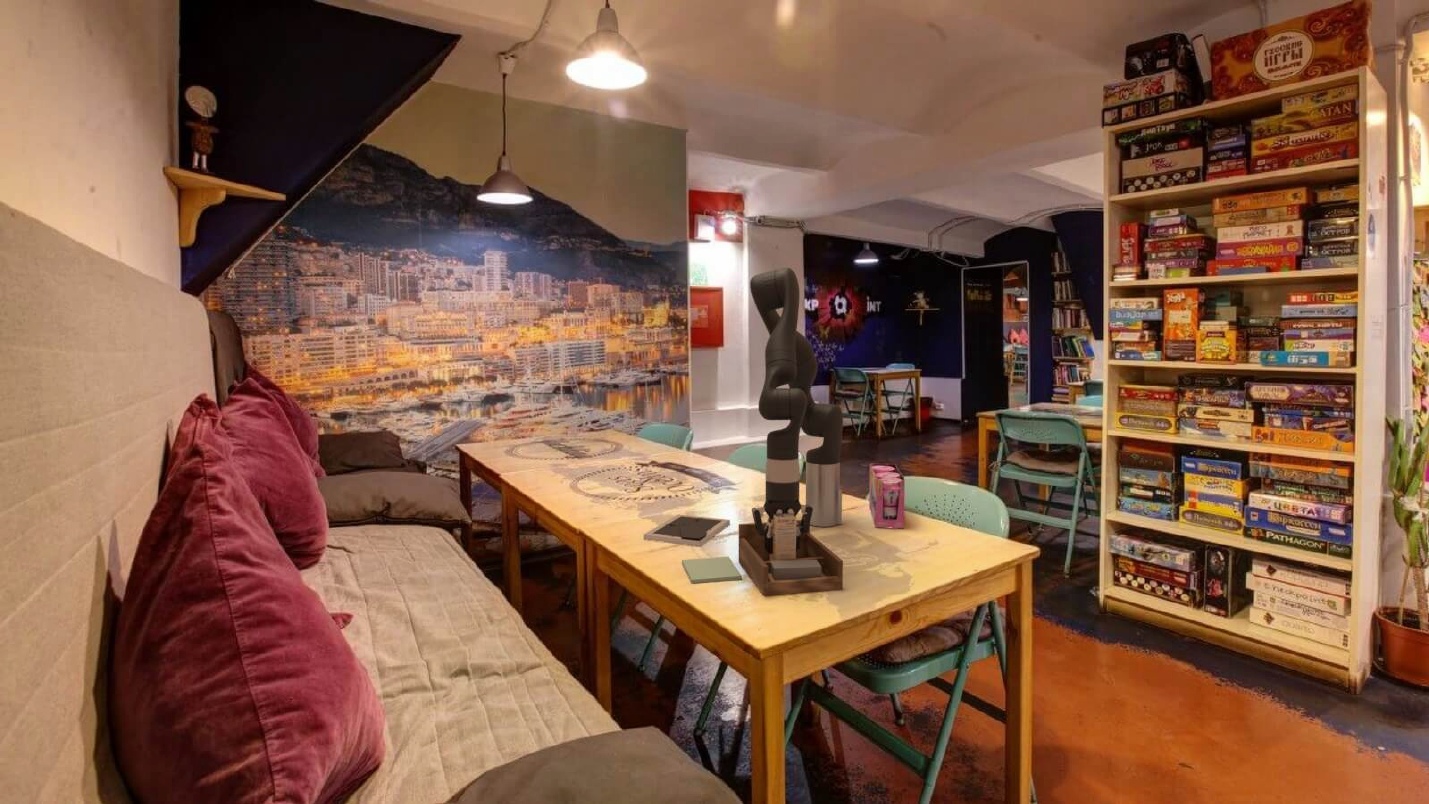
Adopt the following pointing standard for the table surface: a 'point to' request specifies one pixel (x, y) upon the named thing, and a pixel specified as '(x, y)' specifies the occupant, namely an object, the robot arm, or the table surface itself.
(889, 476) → the gum box
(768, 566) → the rack
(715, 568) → the pad
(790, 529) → the supplement box
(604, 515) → the table surface
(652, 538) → the picture frame
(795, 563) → the upper offcut
